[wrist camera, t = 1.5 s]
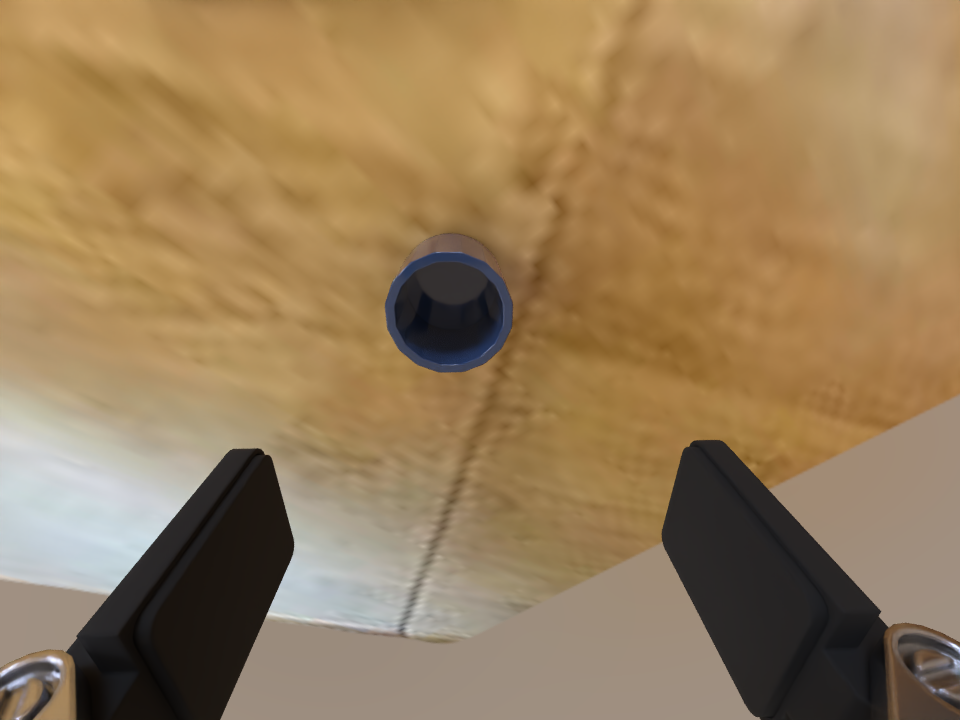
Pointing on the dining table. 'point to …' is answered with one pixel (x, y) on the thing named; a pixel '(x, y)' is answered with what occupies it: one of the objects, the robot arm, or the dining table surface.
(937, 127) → the dining table surface
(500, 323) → the blue plastic cup
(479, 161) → the dining table surface
